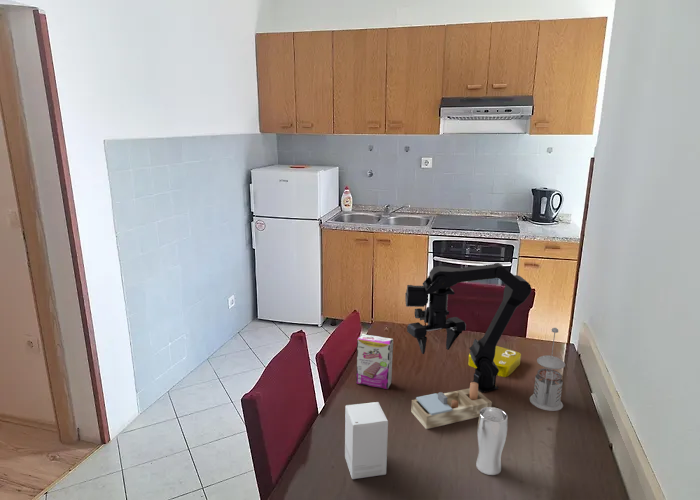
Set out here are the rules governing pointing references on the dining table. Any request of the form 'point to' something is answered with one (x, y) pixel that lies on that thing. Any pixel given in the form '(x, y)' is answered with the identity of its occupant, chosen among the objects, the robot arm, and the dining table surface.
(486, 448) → the beer glass
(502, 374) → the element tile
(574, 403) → the dining table surface
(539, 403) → the french press
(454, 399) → the wooden compartment tray
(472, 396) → the peg
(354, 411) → the supplement box
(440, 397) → the lid
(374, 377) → the candy bar box
